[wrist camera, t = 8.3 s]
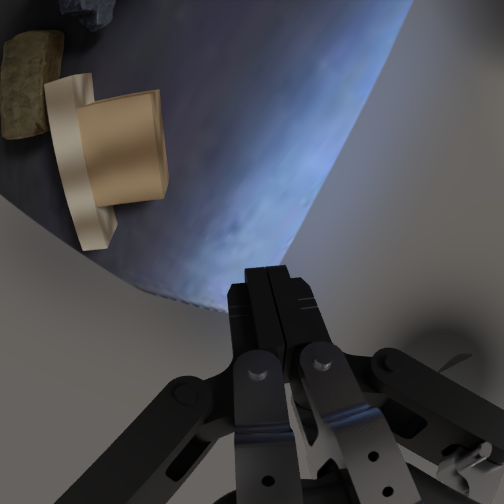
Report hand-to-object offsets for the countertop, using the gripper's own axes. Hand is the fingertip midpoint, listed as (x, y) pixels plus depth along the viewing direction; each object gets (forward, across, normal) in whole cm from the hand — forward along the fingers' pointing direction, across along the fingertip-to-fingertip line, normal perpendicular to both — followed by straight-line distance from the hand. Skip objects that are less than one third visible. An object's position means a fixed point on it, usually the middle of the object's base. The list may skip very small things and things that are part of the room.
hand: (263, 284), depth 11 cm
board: (+22, +15, 0) cm, 27 cm away
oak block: (+23, +10, -1) cm, 25 cm away
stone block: (+23, +20, -10) cm, 32 cm away
